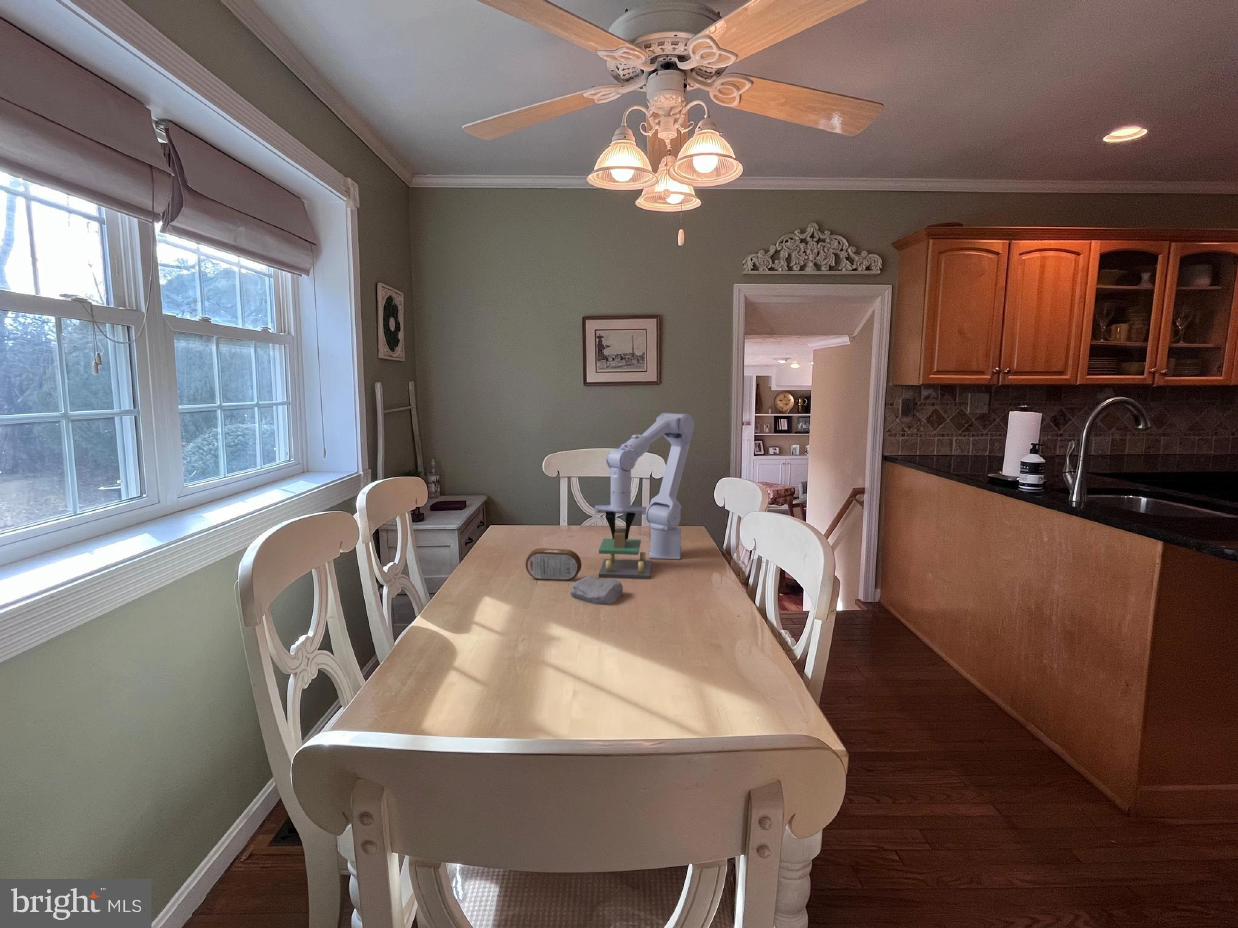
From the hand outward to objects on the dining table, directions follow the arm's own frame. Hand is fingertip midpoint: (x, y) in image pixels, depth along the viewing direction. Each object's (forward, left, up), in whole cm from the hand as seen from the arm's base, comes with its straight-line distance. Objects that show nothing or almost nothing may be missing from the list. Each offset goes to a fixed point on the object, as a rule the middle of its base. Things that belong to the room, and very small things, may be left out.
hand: (620, 538), depth 175 cm
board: (0, -1, -3) cm, 3 cm away
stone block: (+4, +24, -9) cm, 26 cm away
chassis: (-2, +2, -9) cm, 9 cm away
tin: (+17, +12, -9) cm, 23 cm away
